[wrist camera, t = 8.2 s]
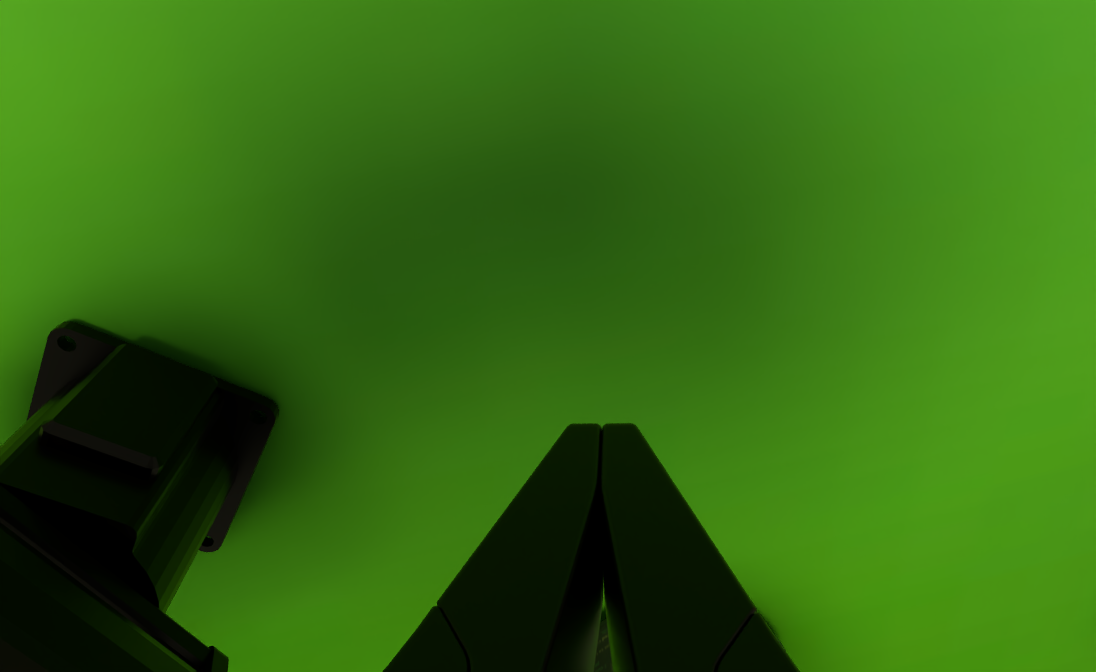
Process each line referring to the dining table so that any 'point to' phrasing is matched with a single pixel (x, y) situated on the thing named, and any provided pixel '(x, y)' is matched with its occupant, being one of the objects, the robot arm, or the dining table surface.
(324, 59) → the dining table surface
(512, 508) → the robot arm
